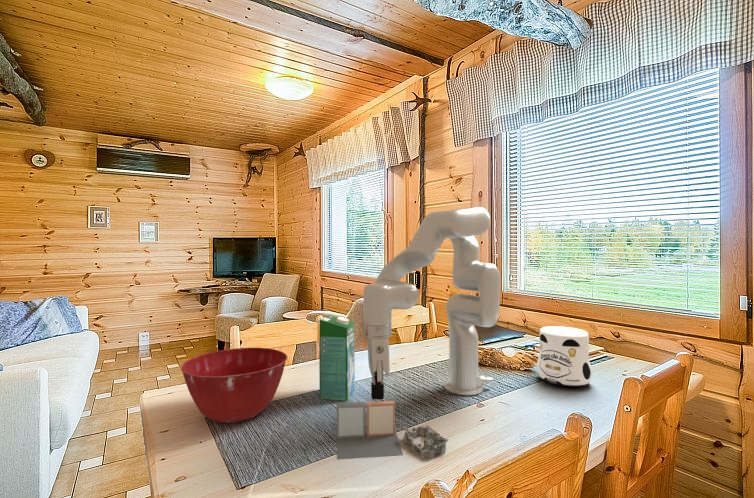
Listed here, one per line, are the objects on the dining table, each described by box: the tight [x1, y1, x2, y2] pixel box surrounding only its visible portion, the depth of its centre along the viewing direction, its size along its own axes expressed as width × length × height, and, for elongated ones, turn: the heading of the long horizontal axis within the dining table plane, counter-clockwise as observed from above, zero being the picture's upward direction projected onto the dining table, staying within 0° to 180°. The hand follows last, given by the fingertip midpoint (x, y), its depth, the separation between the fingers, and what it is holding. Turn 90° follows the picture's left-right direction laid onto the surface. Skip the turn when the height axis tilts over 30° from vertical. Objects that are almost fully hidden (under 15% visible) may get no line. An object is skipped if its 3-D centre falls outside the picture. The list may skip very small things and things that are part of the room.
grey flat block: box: [336, 401, 366, 439], centre depth 95 cm, size 7×2×8 cm, turn 97°
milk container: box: [536, 325, 593, 388], centre depth 134 cm, size 17×17×18 cm
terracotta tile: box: [365, 400, 396, 437], centre depth 96 cm, size 7×2×8 cm, turn 96°
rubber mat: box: [336, 425, 404, 460], centre depth 93 cm, size 15×15×1 cm
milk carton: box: [318, 314, 356, 402], centre depth 123 cm, size 9×9×25 cm
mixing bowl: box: [180, 347, 288, 424], centre depth 110 cm, size 28×28×16 cm
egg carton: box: [401, 424, 450, 459], centre depth 91 cm, size 11×8×4 cm
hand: (377, 397), depth 103 cm, fingers closed
